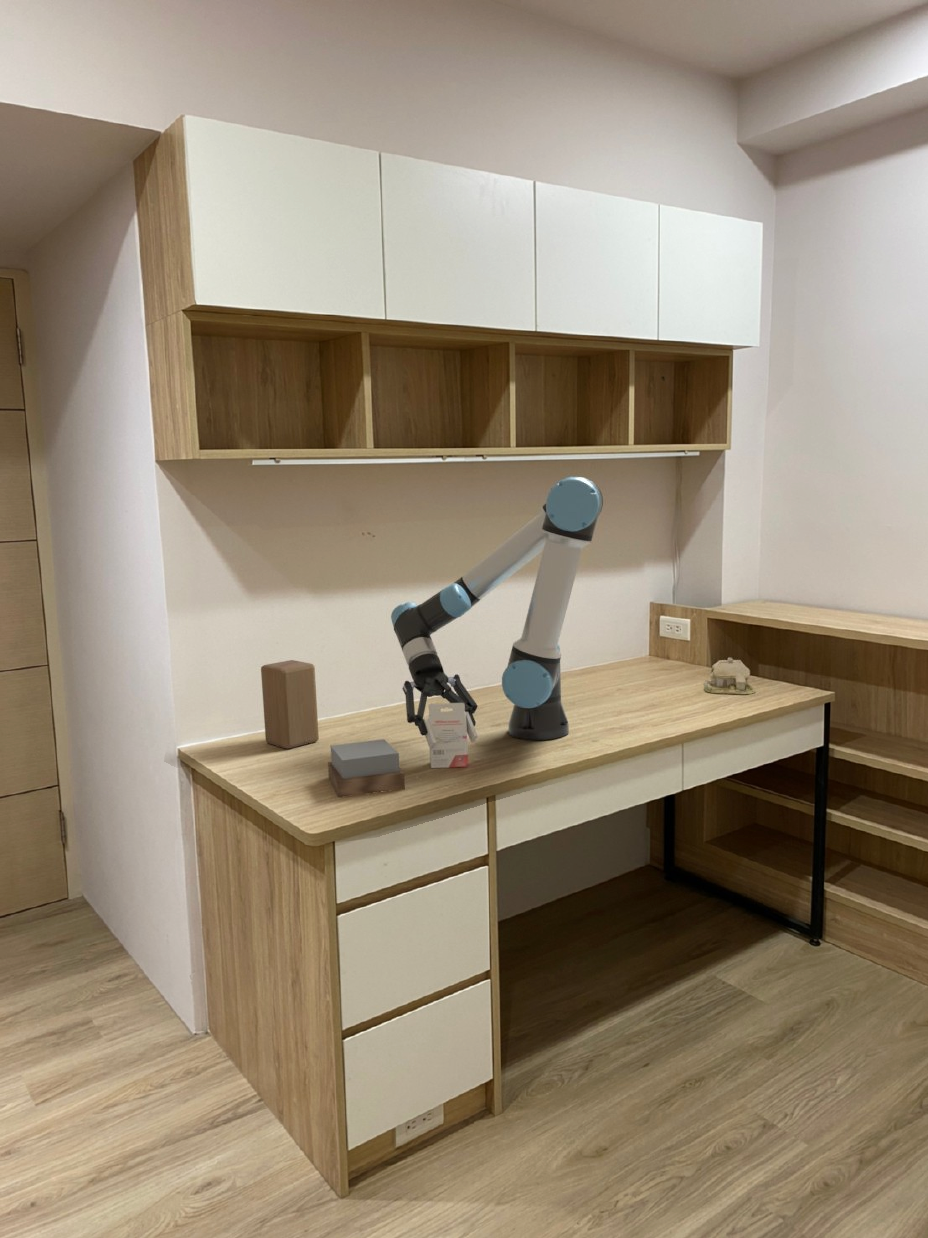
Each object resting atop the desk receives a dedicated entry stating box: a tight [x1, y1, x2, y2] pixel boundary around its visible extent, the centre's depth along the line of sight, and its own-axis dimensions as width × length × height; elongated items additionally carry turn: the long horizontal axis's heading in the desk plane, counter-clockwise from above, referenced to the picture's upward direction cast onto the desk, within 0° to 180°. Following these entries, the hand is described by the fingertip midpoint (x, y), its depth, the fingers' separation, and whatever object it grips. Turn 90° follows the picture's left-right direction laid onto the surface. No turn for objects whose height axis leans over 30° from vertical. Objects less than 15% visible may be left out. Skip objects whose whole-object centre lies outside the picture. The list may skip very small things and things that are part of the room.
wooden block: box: [260, 659, 320, 750], centre depth 233 cm, size 10×10×20 cm
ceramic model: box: [703, 657, 756, 695], centre depth 273 cm, size 14×11×10 cm
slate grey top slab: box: [330, 738, 401, 779], centre depth 199 cm, size 12×12×4 cm
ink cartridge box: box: [427, 702, 469, 769], centre depth 210 cm, size 9×5×15 cm, turn 90°
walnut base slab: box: [327, 761, 406, 798], centre depth 200 cm, size 14×14×4 cm
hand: (454, 742), depth 207 cm, fingers closed on ink cartridge box, 9 cm apart
